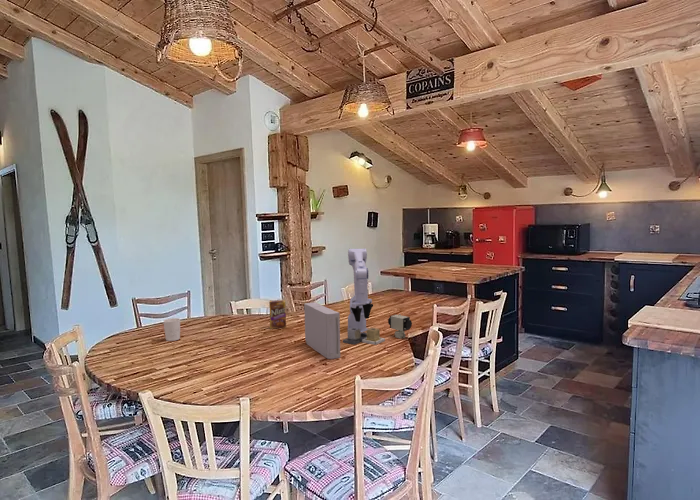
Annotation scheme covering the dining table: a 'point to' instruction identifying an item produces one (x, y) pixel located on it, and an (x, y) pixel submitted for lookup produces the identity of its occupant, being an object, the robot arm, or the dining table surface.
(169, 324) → the white cup
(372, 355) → the dining table surface
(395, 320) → the pneumatic valve
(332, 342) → the game console
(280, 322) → the candy box
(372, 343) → the tray
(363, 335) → the rail
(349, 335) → the grey rectangular block
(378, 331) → the tan rectangular block
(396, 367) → the dining table surface
